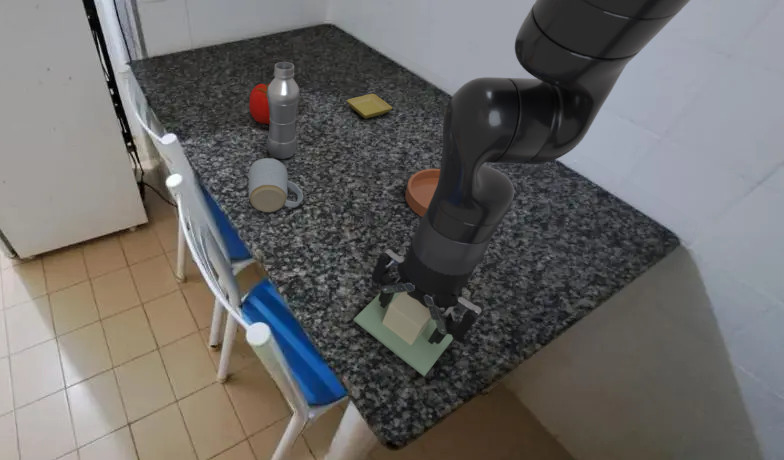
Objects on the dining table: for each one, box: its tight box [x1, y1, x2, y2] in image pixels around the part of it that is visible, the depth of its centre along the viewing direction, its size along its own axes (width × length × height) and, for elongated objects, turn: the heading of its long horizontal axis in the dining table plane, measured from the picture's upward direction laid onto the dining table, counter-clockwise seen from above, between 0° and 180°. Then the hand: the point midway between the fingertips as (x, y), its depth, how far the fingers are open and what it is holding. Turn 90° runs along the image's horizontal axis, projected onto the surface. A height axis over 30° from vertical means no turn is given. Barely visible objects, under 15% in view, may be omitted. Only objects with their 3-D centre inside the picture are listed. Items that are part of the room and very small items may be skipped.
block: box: [382, 291, 432, 345], centre depth 56 cm, size 5×5×5 cm
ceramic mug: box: [248, 157, 304, 213], centre depth 74 cm, size 11×8×8 cm
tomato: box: [248, 83, 270, 126], centre depth 95 cm, size 11×11×9 cm
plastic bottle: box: [266, 61, 301, 160], centre depth 81 cm, size 6×7×20 cm
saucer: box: [346, 93, 393, 120], centre depth 101 cm, size 9×9×2 cm
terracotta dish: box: [404, 168, 440, 218], centre depth 77 cm, size 14×14×2 cm
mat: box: [353, 291, 454, 377], centre depth 58 cm, size 12×10×1 cm
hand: (408, 320), depth 57 cm, fingers open, 7 cm apart
